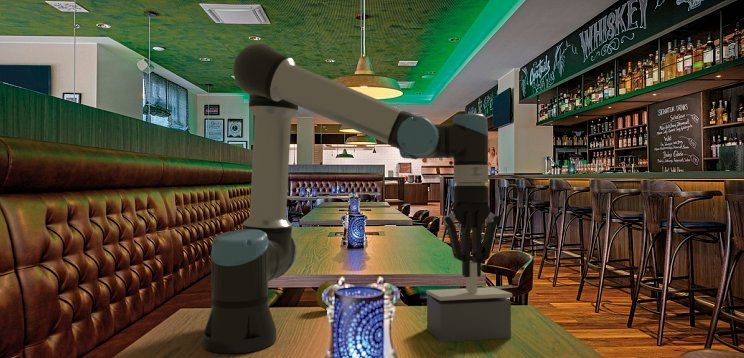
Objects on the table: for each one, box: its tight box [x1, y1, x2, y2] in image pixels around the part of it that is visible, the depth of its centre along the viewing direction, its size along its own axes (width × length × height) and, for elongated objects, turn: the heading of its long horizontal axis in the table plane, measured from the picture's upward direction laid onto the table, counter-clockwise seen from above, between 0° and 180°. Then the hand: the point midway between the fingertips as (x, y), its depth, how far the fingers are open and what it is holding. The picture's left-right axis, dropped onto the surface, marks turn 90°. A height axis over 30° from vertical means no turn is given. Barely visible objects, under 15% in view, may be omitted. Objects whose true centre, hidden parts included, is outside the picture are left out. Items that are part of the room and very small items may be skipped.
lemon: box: [316, 280, 335, 311], centre depth 132 cm, size 6×6×8 cm
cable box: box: [426, 294, 512, 343], centre depth 113 cm, size 16×10×8 cm, turn 100°
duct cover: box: [425, 286, 513, 301], centre depth 113 cm, size 16×10×1 cm, turn 100°
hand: (471, 291), depth 111 cm, fingers closed
